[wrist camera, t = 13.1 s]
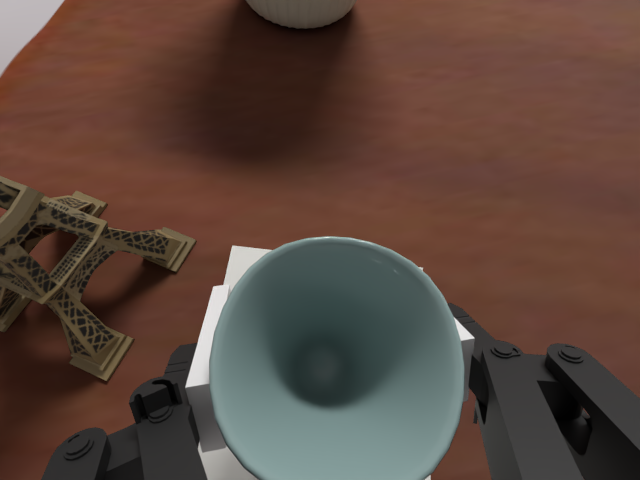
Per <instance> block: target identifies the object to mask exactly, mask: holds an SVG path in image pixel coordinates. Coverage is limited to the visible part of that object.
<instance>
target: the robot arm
mask: <svg viewBox="0 0 640 480" xmlns="http://www.w3.org/2000/svg"><path fill="white" fill-rule="evenodd" d="M230 293H231V290H230V284H229V285H221V286H214V287H213V290H212V294H211V297H210V301H209V304H208V308H207V311H206V315H205V319H204V322H203V326H202V329H201V333H200V336H199V340H198V343H194V344H187V345H181V346H179V347H178V348H177V349H176V350H175V351H174V352H173V354H172V355H171V357H170V359H169V362H168V366H167V367H166V370H165V374H164V375H163V377H157V378H154V379H151V380H149V381H147V382H145V383H143V384H142V385H140V386H139V387H138V388H137V389H136V390H135V391H134V392H133V394H132V395H131V397H130V401H129V404H130V407H131V410H132V413H133V416H134V419H135V422H136V423H134V424H133V425H131V426H129V427H127V428H124V429H122V430H120V431H117V432H115V433H113V434H110V435H108V436H107V434H106V433H105V431H104V430H103V429H100V428H96V427H95V428H89V429H85V430H82V431H80V432H78V433H75V434H74V435H72V436H71V437H69V438H68V439H66V440H65V441H64V442H63V443H62V444H61V445H60V446H59V447H58V448H57V449H56V450H55V452H54V453H53V455H52V457H51V459H50V461H49V463H48V466H47V468H46V470H45V472H44V475H43V477H42V479H41V480H208V479H207V476H206V473H205V469H204V466H203V463H202V460H201V457H200V454H199V451H198V446H199V442H200V446H201V450H202V453H204V452H209V451H214V450H219V449H224V448H226V444H225V442H224V439H223V437H222V435H221V432H220V430H219V428H218V425H217V423H216V421H215V418H214V413H213V407H212V402H211V396H210V391H209V359H210V353H211V347H212V341H213V336H214V331H215V328H216V326H217V323H218V320H219V317H220V314H221V311H222V308H223V306H224V304H225V302H226V301H227V299H228V297H229V295H230ZM448 306H449V308H450V310H451V312H452V314H453V316H454V319H455V323H456V326H457V329H458V333H459V336H460V339H461V344H462V352H463V359H464V366H465V380H464V399H463V402H464V401H468V394H469V388H470V389H471V390H472V392H473V393H474V394H475V396H476V403H475V411H474V421H473V423H476V424H477V418H478V421H479V425H480V430H481V434H482V438H483V443H484V447H485V451H486V456H487V460H488V465H489V469H490V473H491V478H492V480H584V479H585V480H640V398H639V397H637V396H636V395H635V394H634V393H633V392H632V391H631V390H630V389H628V388H627V387H626V386H625V385H624V384H623V383H622V382H620V381H619V380H618V379H617V378H616V377H615V376H614V375H613V374H611V373H610V372H609V371H608V370H607V369H606V368H605V367H604V366H602V365H601V364H600V363H599V362H598V361H597V360H596V359H594V358H593V357H592V356H591V355H590V354H588V353H587V352H585V351H584V350H582V349H580V348H578V347H575V346H572V345H568V344H553V345H550V346H549V347H548V349H547V354H546V355H532V354H523V352H522V351H521V350H520V349H519V348H518V347H516V346H515V345H513V344H510V343H508V342H504V341H499V340H495V339H494V338H493V337H492V336H490V335H489V334H488V333H487V332H486V331H485V330H484V329H483V328H482V327H481V326H480V325H479V324H478V323H477V322H476V323H475V320H473V319H472V318H471V317H469V315H468V314H467V313H466V312H465V311H464V310H463V309H462V308H460V307H458V306H456V305H454V304H452V303H448ZM583 408H584V409H585V410H586V411H587V413H588V414H589V415H587V413H586V412H585V411H584V410H583ZM583 478H584V479H583Z"/></svg>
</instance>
